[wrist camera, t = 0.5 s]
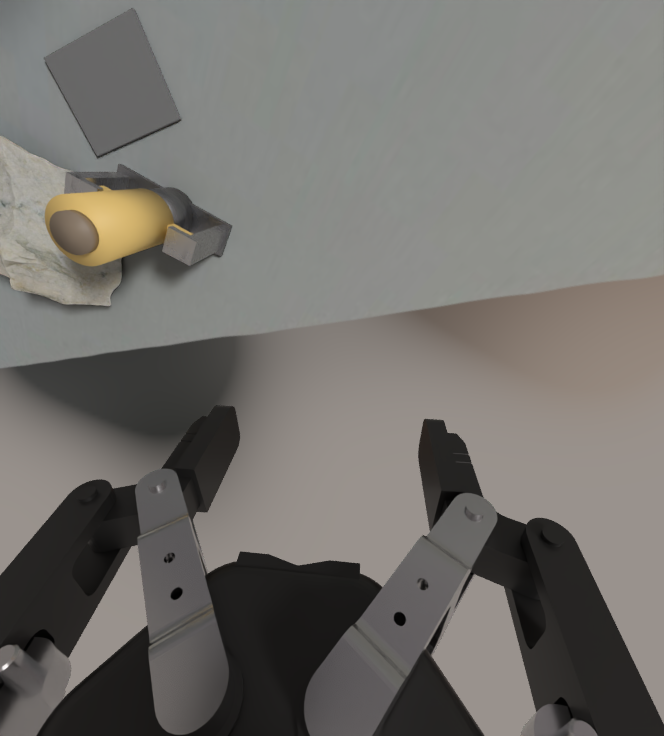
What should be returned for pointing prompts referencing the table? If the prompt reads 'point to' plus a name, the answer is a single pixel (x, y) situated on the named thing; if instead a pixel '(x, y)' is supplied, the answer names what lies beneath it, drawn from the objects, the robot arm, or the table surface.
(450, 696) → the robot arm
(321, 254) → the table surface
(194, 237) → the grey metal frame
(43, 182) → the rock
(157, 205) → the yellow cylinder
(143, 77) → the mat
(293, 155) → the table surface
